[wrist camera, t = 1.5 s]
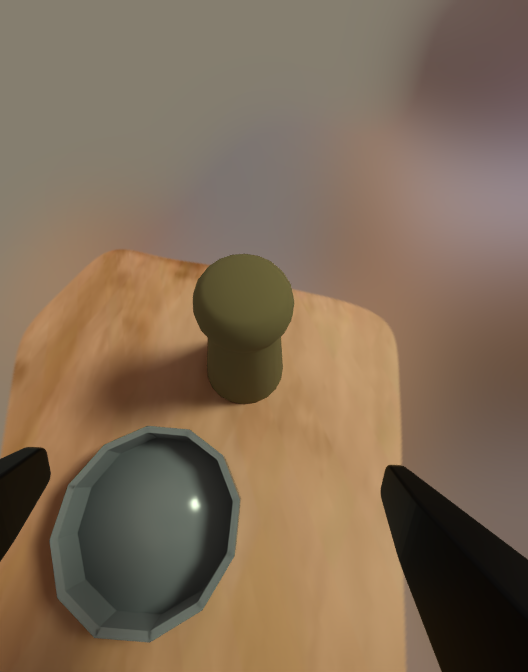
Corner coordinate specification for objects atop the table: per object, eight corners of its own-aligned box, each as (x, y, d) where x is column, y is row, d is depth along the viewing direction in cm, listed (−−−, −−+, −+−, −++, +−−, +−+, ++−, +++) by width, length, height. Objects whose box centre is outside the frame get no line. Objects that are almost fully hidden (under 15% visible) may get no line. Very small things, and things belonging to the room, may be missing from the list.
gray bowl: (264, 559, 18) (267, 570, 16) (95, 661, 16) (69, 691, 13) (206, 410, 22) (202, 401, 20) (63, 474, 20) (40, 472, 17)
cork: (191, 372, 23) (149, 290, 13) (239, 320, 25) (234, 217, 16) (251, 420, 22) (255, 367, 12) (297, 360, 24) (331, 275, 14)
